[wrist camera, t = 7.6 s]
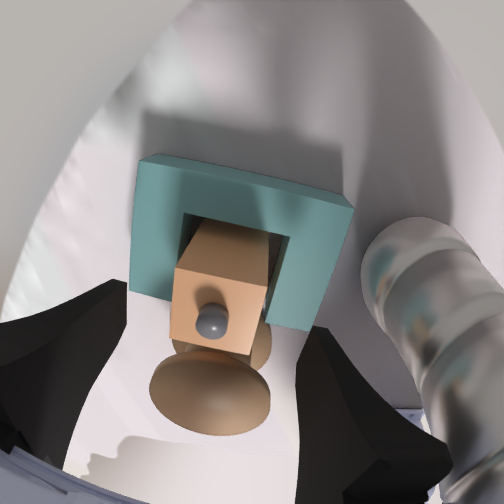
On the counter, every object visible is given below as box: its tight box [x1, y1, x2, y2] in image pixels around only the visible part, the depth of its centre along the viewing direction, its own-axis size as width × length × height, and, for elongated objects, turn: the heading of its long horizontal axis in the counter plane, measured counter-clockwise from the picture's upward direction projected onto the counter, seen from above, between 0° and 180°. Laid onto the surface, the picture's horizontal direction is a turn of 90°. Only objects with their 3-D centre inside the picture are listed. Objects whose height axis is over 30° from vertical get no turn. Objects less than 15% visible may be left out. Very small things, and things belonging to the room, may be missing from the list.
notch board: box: [129, 154, 355, 332], centre depth 16 cm, size 10×7×2 cm
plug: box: [169, 217, 269, 355], centre depth 15 cm, size 4×4×7 cm
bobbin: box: [149, 314, 272, 436], centre depth 18 cm, size 6×6×6 cm
